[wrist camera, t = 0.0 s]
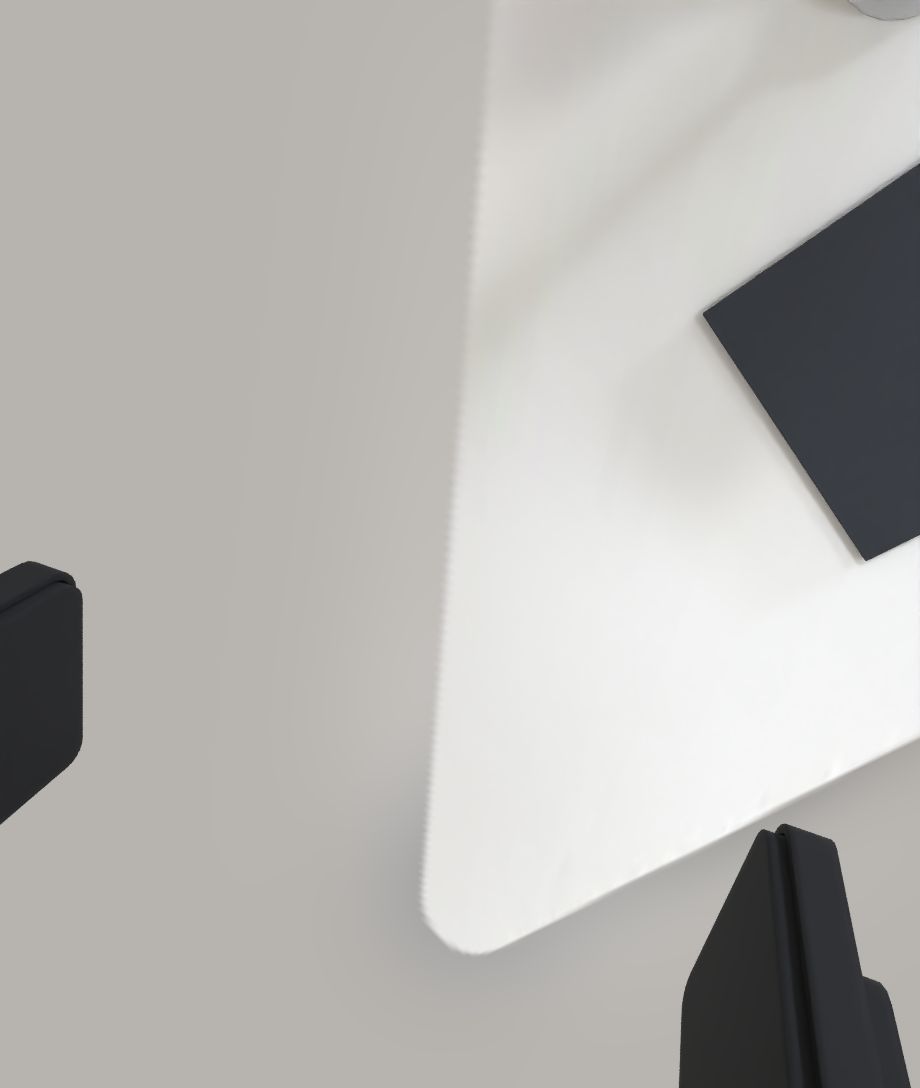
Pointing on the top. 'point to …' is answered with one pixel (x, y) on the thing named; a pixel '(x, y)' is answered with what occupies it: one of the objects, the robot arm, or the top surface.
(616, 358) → the top surface
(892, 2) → the chalice
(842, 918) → the robot arm
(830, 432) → the mat
